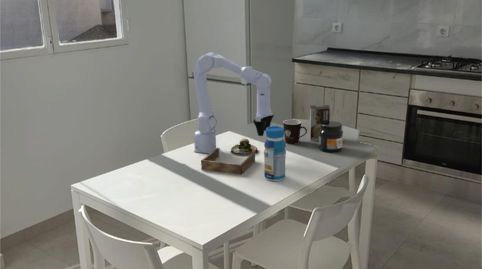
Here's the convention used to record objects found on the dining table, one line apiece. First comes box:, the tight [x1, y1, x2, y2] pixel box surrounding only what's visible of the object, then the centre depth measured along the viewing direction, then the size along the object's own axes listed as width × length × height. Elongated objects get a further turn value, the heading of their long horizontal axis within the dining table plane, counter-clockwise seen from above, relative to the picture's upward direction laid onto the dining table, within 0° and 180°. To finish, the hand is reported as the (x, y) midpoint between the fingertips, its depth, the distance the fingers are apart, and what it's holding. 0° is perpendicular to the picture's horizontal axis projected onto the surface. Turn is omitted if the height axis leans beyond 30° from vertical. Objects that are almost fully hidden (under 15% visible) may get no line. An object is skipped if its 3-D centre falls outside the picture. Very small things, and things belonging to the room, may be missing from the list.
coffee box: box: [309, 104, 331, 142], centre depth 220 cm, size 9×6×16 cm
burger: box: [230, 138, 258, 155], centre depth 206 cm, size 12×12×8 cm
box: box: [200, 148, 256, 176], centre depth 191 cm, size 18×16×4 cm
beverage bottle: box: [263, 125, 287, 182], centre depth 175 cm, size 8×8×20 cm
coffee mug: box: [282, 119, 308, 145], centre depth 215 cm, size 12×9×10 cm
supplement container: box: [318, 120, 344, 153], centre depth 206 cm, size 10×10×12 cm
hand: (263, 133), depth 200 cm, fingers open, 7 cm apart
